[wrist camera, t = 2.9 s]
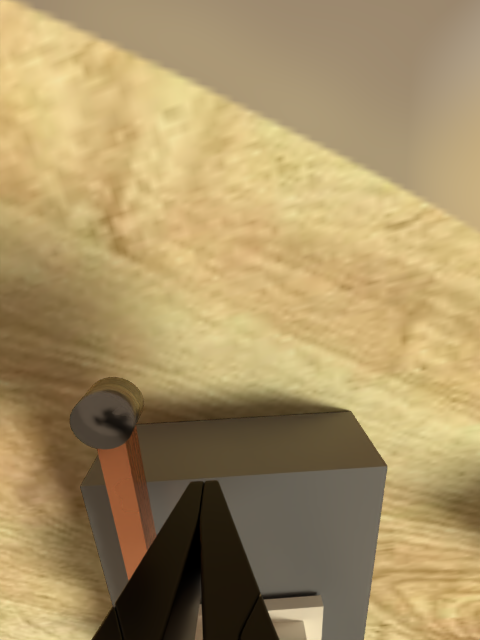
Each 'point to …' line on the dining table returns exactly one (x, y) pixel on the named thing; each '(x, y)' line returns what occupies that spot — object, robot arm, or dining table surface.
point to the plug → (289, 618)
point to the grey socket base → (269, 503)
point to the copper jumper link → (119, 460)
